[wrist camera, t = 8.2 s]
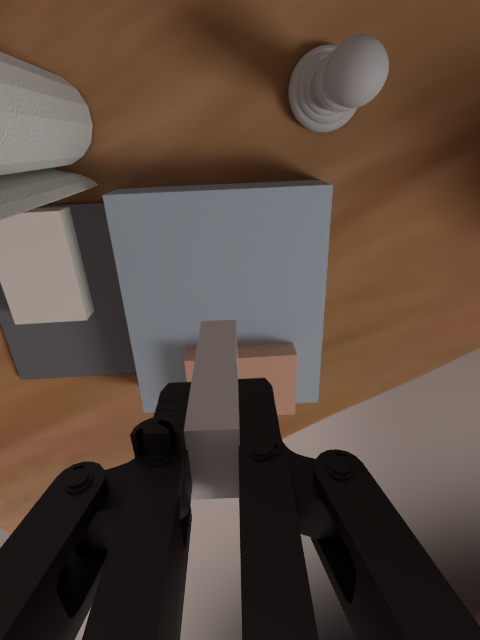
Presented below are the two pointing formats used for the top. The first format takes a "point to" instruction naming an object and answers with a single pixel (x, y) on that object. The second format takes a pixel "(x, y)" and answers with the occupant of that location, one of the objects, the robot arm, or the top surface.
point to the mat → (78, 336)
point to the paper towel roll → (39, 137)
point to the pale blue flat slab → (221, 271)
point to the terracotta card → (264, 370)
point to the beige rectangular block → (43, 267)
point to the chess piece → (337, 82)
